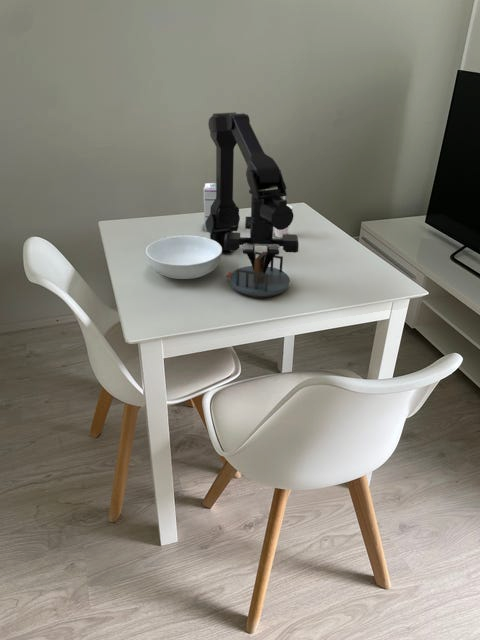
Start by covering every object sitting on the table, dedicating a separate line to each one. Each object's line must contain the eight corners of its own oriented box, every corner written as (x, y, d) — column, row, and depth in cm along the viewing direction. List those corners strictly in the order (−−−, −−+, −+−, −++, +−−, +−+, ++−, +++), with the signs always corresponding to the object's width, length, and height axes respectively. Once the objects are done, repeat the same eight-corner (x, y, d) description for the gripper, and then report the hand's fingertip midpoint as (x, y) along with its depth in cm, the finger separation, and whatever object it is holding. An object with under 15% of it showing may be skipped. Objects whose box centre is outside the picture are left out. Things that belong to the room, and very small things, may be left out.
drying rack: (296, 275, 142) (299, 250, 138) (278, 301, 130) (280, 274, 126) (238, 263, 148) (239, 239, 144) (215, 287, 135) (215, 261, 131)
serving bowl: (229, 260, 153) (229, 238, 149) (211, 292, 135) (211, 268, 132) (161, 252, 156) (160, 231, 153) (135, 283, 139) (133, 260, 135)
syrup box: (221, 231, 172) (222, 188, 164) (203, 231, 172) (203, 187, 164) (222, 225, 177) (222, 183, 169) (205, 224, 177) (204, 182, 169)
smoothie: (294, 234, 171) (297, 192, 164) (284, 240, 166) (287, 198, 159) (277, 230, 174) (279, 189, 167) (267, 236, 169) (269, 194, 162)
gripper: (298, 206, 136) (293, 260, 144) (226, 203, 136) (226, 258, 144) (300, 221, 126) (295, 279, 134) (224, 218, 126) (223, 276, 135)
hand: (259, 272), depth 137 cm, fingers closed on drying rack, 2 cm apart
